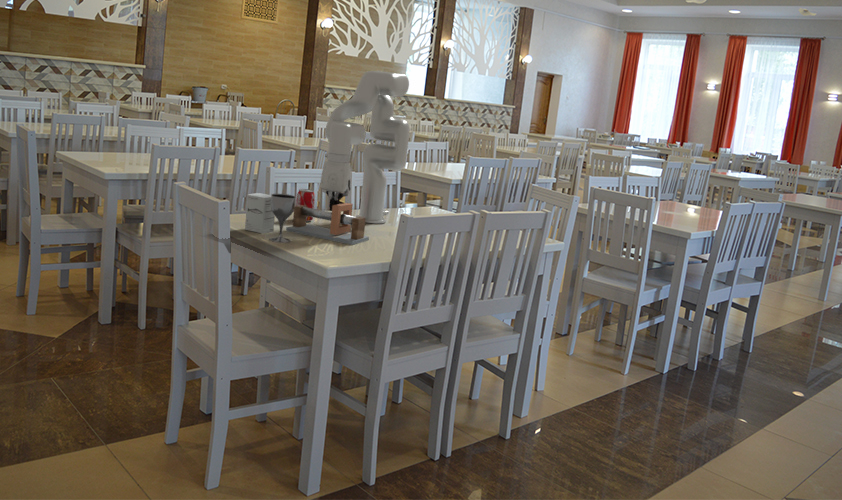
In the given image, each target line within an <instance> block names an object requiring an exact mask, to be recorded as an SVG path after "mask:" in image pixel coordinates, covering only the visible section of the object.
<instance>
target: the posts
mask: <svg viewBox="0 0 842 500" xmlns="http://www.w3.org/2000/svg"><path fill="white" fill-rule="evenodd" d="M303 207H307V206H304V205H300V206H296V205H295V207H294V210H293V218H292V226H293V227H303V226H306V224H307V222H306V218H307V216H305V215H302V214H301V210H302V208H303ZM354 217H355V218H353V221H352V225H351V231H350V233H351V239H355V240H358V239H362V238H364V236H365V228H366V227H365V226H366V222H365V220H366V218H365V217H356V216H354Z"/></svg>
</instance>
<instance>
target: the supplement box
mask: <svg viewBox="0 0 842 500" xmlns="http://www.w3.org/2000/svg"><path fill="white" fill-rule="evenodd" d="M274 225H275V215H274V214H273V212H272V209H271V194H265V193H262V192H261V193H260V192H256V193H255V192H254V193H250V194H249V193H248V194H247V197H246V211H245V225H244V230H245V231H250V232H255V233H258V234H261V235H262V234H268V233H270V232H274V229H275V228H274Z"/></svg>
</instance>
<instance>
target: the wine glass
mask: <svg viewBox="0 0 842 500" xmlns="http://www.w3.org/2000/svg"><path fill="white" fill-rule="evenodd" d="M270 195H271V209H272V212H273V214H274V215H275V217H276V219H277V222H278V225H279V233H278V236H277V237H275V236H274V237H270V238H269V239H268V240H269V241H270V240H271V241H270V242H273V241H274V242H273V243H283V244H286V243H291V242H292V240H291V239H290V238H286V237H283V228H284V224H285V222H286V220H288V219H289V218H290V216H292V214H294V207H295V206H296V199H297V196H296V195H293V194H288V193H271V194H270Z"/></svg>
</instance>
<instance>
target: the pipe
mask: <svg viewBox="0 0 842 500" xmlns="http://www.w3.org/2000/svg"><path fill="white" fill-rule="evenodd" d="M301 214H302V215H305V216H310V217H313V218H314V219H320V220H325V221H330V222H331V217H332V211H327V210H322V209H317V208H314V209H312V208H307V207H303V208H302V210H301ZM355 217H356V216H353V215H352V216H348V215H346V214H343V213H341V216H340V225H342V224H349V225H351V226H352V221H353V218H355Z"/></svg>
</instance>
